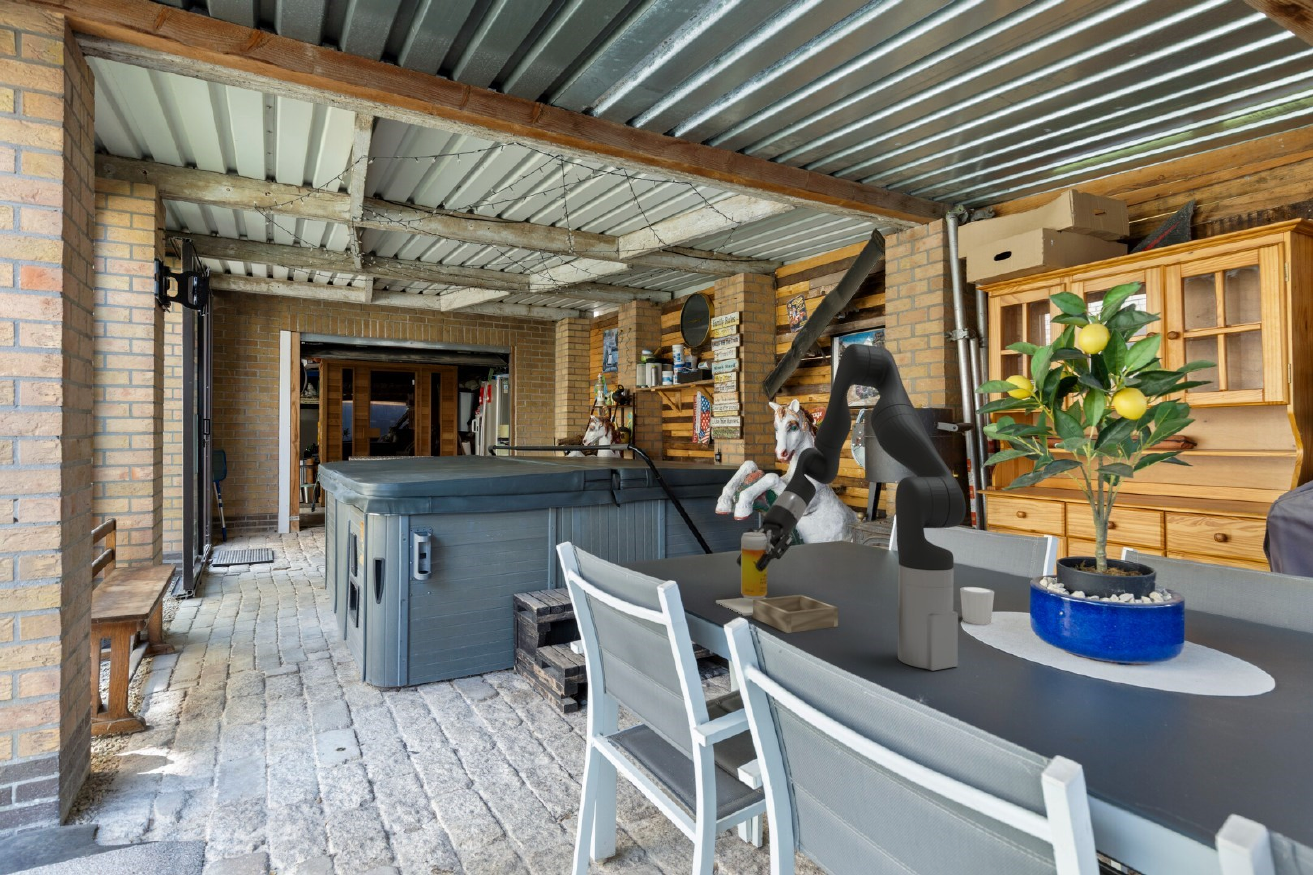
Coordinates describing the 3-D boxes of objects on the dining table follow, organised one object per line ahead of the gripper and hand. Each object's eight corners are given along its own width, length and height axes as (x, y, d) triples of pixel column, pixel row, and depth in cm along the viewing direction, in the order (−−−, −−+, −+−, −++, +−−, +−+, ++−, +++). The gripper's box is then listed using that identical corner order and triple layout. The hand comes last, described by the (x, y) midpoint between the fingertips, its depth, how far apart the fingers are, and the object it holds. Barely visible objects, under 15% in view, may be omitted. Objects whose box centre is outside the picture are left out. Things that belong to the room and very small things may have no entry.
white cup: (987, 617, 153) (987, 586, 153) (999, 626, 146) (999, 593, 146) (955, 616, 153) (955, 585, 153) (966, 624, 146) (966, 592, 146)
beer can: (766, 600, 157) (766, 536, 157) (740, 599, 159) (740, 535, 158) (767, 594, 163) (767, 532, 163) (742, 593, 164) (742, 531, 164)
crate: (837, 626, 144) (837, 607, 144) (787, 633, 139) (787, 613, 139) (800, 611, 156) (800, 594, 156) (752, 617, 151) (753, 599, 151)
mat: (792, 610, 157) (792, 607, 157) (744, 615, 152) (744, 613, 152) (761, 598, 169) (761, 595, 169) (715, 602, 164) (715, 600, 164)
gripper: (756, 501, 171) (720, 552, 164) (798, 506, 159) (761, 561, 152) (772, 520, 174) (736, 571, 167) (814, 527, 162) (778, 582, 155)
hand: (748, 566), depth 160 cm, fingers closed on beer can, 6 cm apart
